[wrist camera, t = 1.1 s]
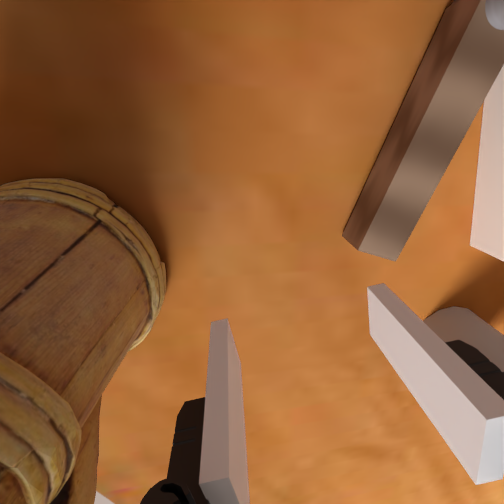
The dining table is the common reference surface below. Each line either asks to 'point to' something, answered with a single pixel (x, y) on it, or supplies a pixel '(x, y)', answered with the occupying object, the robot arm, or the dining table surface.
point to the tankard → (65, 330)
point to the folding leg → (429, 125)
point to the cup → (468, 332)
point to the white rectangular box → (490, 176)
